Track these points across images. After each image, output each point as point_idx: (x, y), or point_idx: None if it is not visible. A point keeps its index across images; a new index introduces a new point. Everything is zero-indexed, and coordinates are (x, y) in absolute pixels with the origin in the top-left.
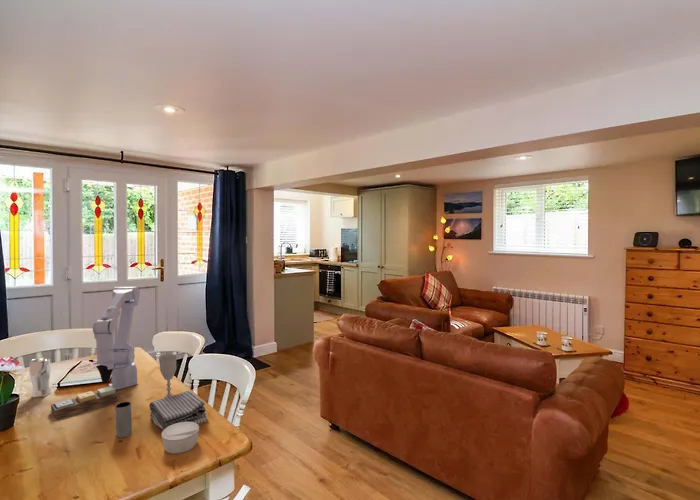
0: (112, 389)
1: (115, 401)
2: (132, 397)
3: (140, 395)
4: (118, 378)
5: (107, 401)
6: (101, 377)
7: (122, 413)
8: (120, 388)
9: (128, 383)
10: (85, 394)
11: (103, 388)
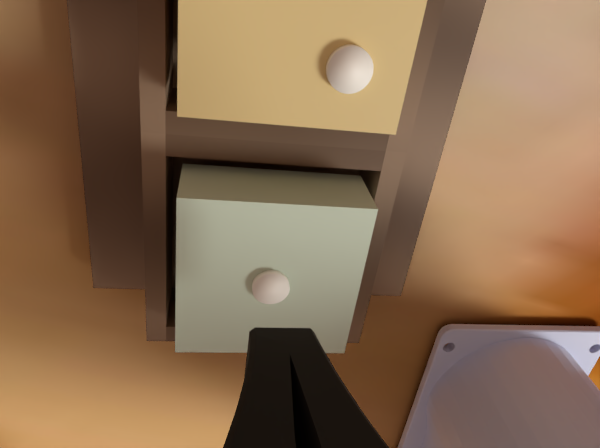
0: (191, 329)
1: (94, 247)
2: (126, 370)
3: (121, 418)
4: (494, 444)
5: (131, 190)
6: (311, 406)
7: None
8: (427, 365)
9: (431, 435)
10: (324, 6)
11: (337, 271)
